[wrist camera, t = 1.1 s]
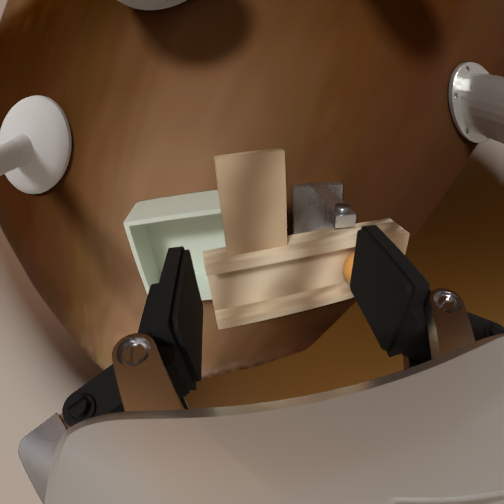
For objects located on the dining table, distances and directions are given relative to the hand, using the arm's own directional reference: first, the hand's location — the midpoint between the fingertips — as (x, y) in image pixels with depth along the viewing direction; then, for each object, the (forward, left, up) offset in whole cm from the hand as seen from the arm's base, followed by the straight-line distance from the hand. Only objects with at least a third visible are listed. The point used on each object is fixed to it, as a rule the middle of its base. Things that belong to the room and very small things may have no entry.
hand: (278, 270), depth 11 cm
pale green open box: (+6, +10, -22) cm, 24 cm away
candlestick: (+26, -6, -22) cm, 34 cm away
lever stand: (-8, +10, -22) cm, 25 cm away
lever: (-5, +5, -13) cm, 15 cm away
